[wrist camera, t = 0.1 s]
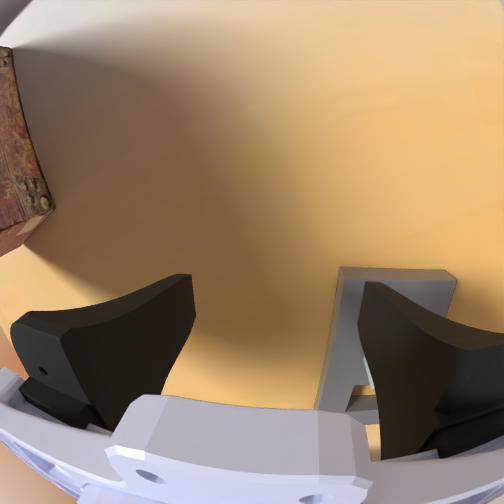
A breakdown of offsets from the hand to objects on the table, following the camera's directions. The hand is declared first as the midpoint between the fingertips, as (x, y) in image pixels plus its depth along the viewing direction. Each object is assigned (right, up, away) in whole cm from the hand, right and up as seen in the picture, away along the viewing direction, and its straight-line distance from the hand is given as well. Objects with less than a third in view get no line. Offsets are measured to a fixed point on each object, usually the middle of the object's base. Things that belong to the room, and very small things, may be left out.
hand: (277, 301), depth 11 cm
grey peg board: (+11, -8, +12) cm, 18 cm away
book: (-30, +15, +9) cm, 35 cm away
